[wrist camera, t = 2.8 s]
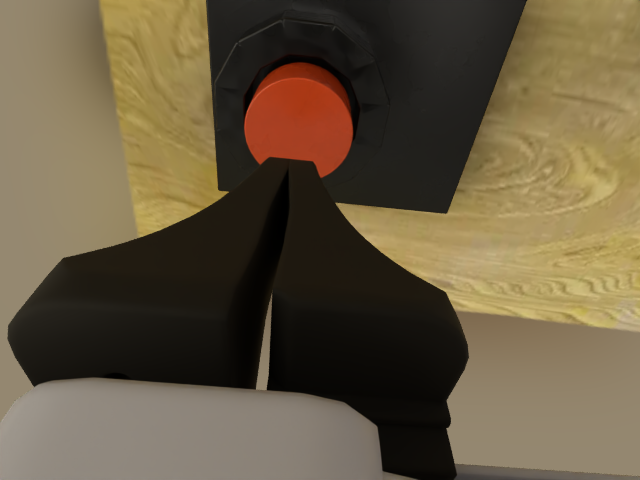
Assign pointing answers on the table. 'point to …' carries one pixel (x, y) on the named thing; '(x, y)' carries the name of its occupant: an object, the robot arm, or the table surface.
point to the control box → (368, 85)
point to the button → (300, 117)
